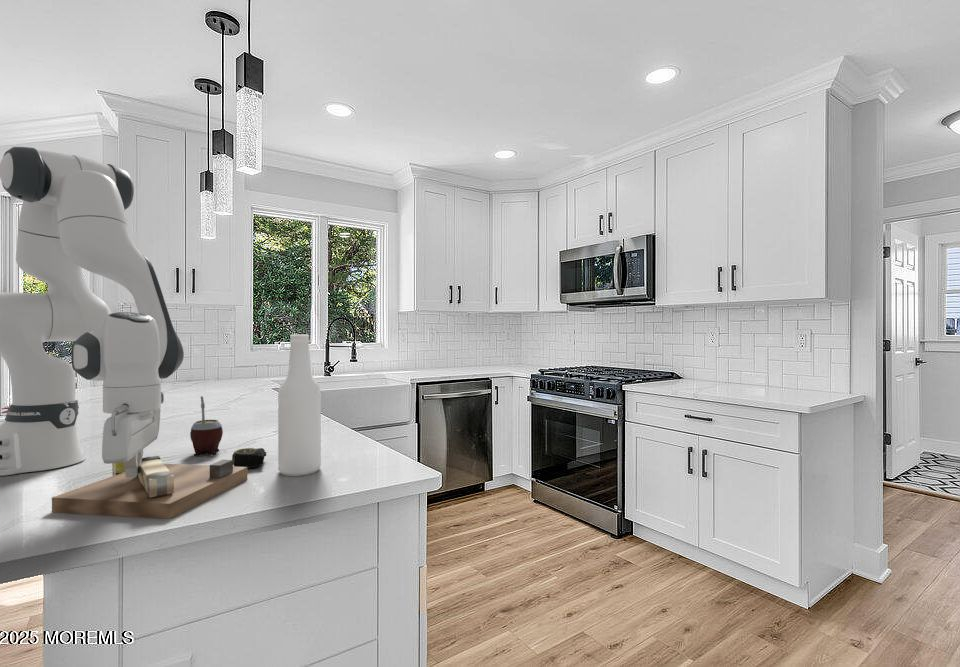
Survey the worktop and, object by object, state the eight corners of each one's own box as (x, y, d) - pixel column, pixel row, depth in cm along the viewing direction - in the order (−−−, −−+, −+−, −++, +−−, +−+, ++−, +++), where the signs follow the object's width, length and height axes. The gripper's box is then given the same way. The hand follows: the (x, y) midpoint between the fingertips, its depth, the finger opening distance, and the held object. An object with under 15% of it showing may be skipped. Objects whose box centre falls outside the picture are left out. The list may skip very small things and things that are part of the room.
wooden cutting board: (51, 512, 87) (51, 482, 86) (151, 474, 108) (151, 451, 108) (169, 518, 84) (169, 488, 84) (247, 479, 106) (247, 455, 105)
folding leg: (174, 493, 88) (174, 474, 88) (149, 497, 86) (148, 478, 86) (158, 471, 101) (158, 455, 101) (135, 475, 99) (135, 458, 98)
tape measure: (263, 469, 113) (263, 453, 113) (229, 472, 111) (229, 455, 111) (266, 462, 119) (266, 446, 119) (234, 464, 117) (234, 448, 117)
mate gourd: (211, 448, 131) (211, 390, 131) (230, 452, 127) (230, 393, 127) (182, 455, 125) (182, 394, 125) (201, 459, 121) (201, 396, 121)
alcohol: (280, 479, 106) (280, 335, 105) (276, 468, 113) (275, 334, 113) (324, 473, 110) (324, 334, 109) (317, 463, 117) (316, 334, 117)
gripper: (135, 408, 85) (135, 490, 85) (166, 393, 104) (166, 460, 104) (89, 410, 82) (90, 495, 83) (130, 394, 102) (130, 463, 102)
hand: (133, 475), depth 93 cm, fingers closed
